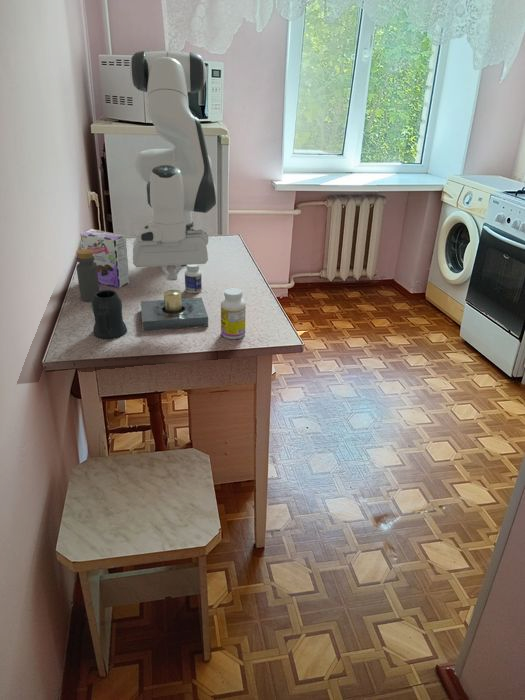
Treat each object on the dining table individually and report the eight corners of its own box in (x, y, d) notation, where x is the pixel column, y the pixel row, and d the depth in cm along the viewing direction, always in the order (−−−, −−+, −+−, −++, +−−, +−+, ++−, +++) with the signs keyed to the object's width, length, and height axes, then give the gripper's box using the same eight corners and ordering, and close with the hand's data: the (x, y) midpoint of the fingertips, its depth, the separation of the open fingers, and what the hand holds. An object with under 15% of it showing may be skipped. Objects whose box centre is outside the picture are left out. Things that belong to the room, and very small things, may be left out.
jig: (141, 310, 158) (140, 301, 156) (201, 306, 162) (201, 297, 160) (143, 331, 146) (142, 321, 144) (208, 326, 150) (208, 317, 148)
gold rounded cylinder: (165, 315, 155) (163, 290, 152) (181, 314, 156) (180, 289, 153) (166, 322, 151) (164, 296, 147) (183, 321, 152) (181, 295, 148)
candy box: (85, 281, 177) (79, 232, 169) (97, 275, 182) (91, 228, 174) (119, 288, 172) (114, 239, 164) (130, 282, 177) (126, 234, 169)
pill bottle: (198, 294, 170) (198, 268, 166) (183, 292, 171) (182, 266, 166) (203, 288, 174) (203, 262, 170) (188, 286, 175) (187, 261, 171)
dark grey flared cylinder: (97, 324, 149) (91, 287, 144) (129, 324, 150) (126, 287, 144) (86, 344, 138) (81, 305, 133) (122, 344, 139) (117, 305, 134)
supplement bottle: (221, 329, 149) (220, 286, 142) (244, 329, 149) (245, 286, 143) (221, 340, 143) (220, 296, 137) (245, 340, 143) (246, 296, 137)
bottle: (104, 297, 166) (98, 250, 158) (89, 303, 161) (82, 255, 154) (92, 292, 168) (85, 247, 161) (76, 298, 164) (69, 251, 157)
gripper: (206, 226, 146) (207, 273, 153) (130, 228, 142) (134, 277, 148) (209, 232, 141) (210, 281, 147) (130, 235, 137) (135, 286, 143)
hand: (171, 279), depth 148 cm, fingers closed
